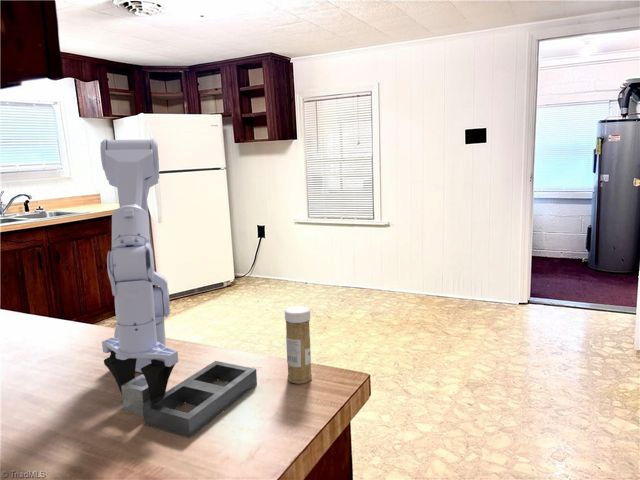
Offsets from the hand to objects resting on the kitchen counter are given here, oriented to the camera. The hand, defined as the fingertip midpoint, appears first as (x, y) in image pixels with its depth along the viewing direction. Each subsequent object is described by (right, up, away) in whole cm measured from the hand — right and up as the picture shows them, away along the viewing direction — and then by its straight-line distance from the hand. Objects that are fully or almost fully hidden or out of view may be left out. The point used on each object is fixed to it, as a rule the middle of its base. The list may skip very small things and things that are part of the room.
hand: (143, 398), depth 79 cm
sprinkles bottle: (+25, 0, +9) cm, 27 cm away
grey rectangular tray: (+10, -1, +1) cm, 10 cm away
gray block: (0, -2, 0) cm, 2 cm away
